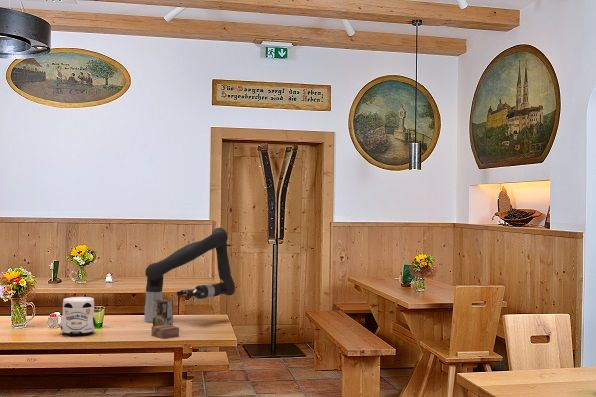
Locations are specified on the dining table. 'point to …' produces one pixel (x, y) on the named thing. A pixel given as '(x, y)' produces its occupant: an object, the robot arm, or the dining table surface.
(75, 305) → the milk container
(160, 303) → the coffee box
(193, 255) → the robot arm
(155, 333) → the walnut block
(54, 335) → the dining table surface
